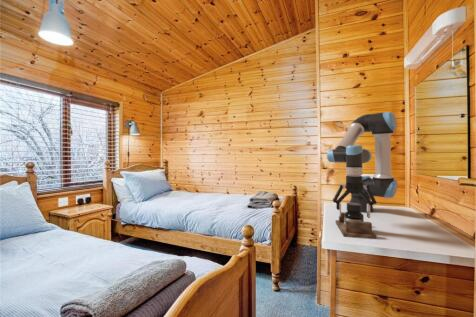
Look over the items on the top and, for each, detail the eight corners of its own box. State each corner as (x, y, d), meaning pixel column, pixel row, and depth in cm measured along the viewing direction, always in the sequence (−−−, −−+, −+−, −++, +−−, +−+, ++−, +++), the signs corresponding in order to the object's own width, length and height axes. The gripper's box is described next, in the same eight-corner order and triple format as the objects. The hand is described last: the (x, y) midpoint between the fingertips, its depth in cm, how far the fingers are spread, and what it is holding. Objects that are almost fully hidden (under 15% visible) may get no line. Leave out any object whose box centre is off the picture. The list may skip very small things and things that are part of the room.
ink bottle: (340, 226, 121) (340, 203, 121) (347, 223, 127) (347, 201, 127) (360, 231, 114) (360, 206, 113) (367, 227, 120) (367, 203, 119)
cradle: (362, 224, 130) (362, 212, 129) (376, 238, 108) (376, 224, 108) (335, 222, 133) (335, 211, 133) (343, 236, 111) (343, 222, 111)
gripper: (329, 175, 119) (329, 217, 119) (384, 176, 113) (383, 220, 114) (327, 174, 126) (327, 213, 127) (378, 175, 120) (378, 215, 121)
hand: (353, 216), depth 120 cm, fingers open, 13 cm apart
